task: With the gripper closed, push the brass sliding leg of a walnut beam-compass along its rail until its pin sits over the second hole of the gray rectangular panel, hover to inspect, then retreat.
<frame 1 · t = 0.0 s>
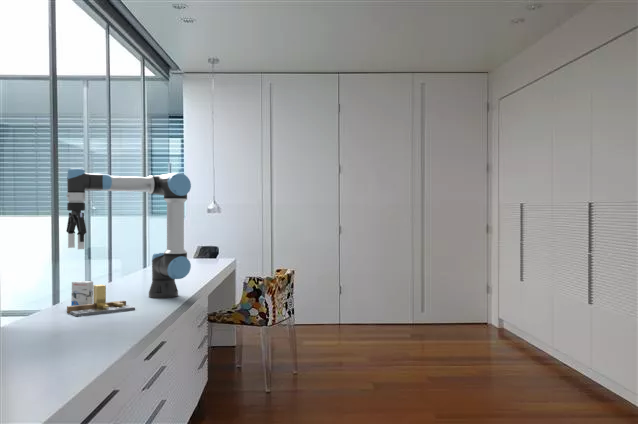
hand: (76, 248, 267), 28 cm above the table, fingers open, 13 cm apart
ink box: (82, 306, 276), on the table
gray rectangular panel: (103, 312, 261), on the table
beam: (97, 309, 267), on the table
sliding leg: (101, 297, 265), point 6 cm above the table, slide at 0.0 cm
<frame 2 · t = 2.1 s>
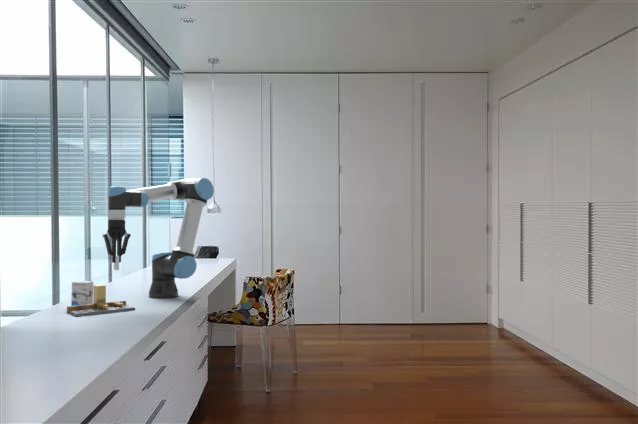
hand: (116, 269, 272), 18 cm above the table, fingers closed
nothing on the table moved.
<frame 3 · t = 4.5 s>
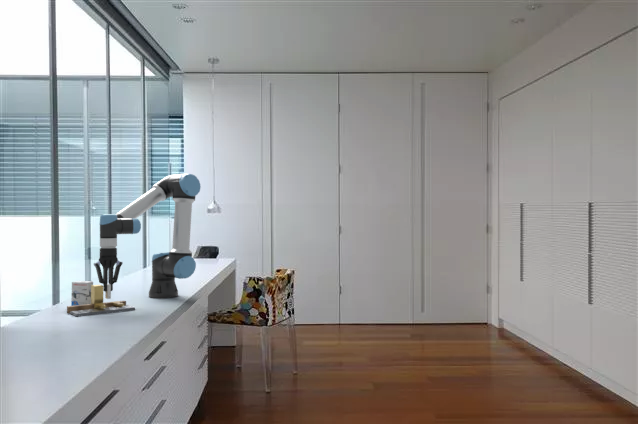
hand: (108, 298, 270), 5 cm above the table, fingers closed
sliding leg: (99, 298, 264), point 6 cm above the table, slide at 1.1 cm, touching gripper
everything else where it was.
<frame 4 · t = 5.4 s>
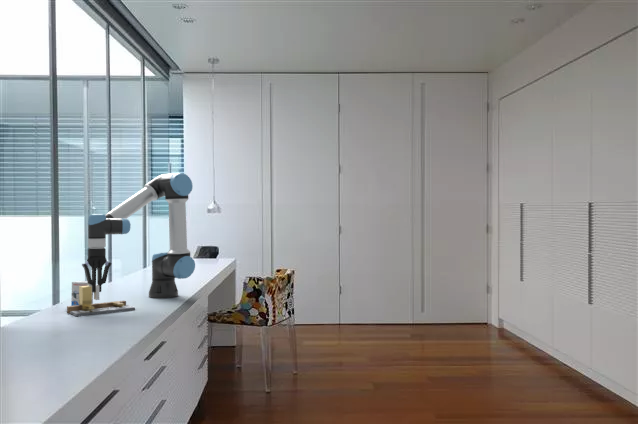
hand: (96, 299, 266), 5 cm above the table, fingers closed
sliding leg: (87, 299, 261), point 6 cm above the table, slide at 6.4 cm, touching gripper
everything else where it was.
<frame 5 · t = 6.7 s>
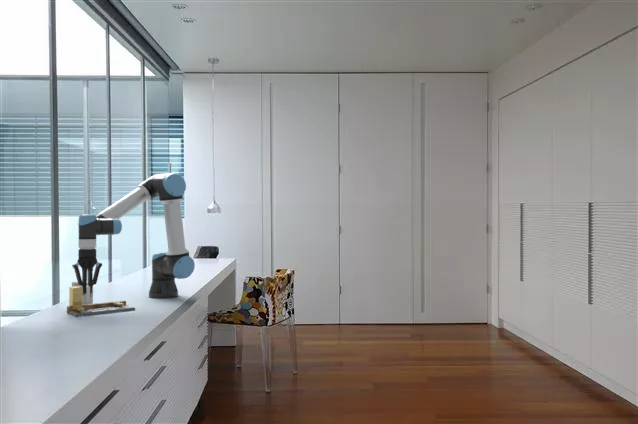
hand: (87, 300, 264), 5 cm above the table, fingers closed
sliding leg: (77, 300, 258), point 6 cm above the table, slide at 10.6 cm, touching gripper
everything else where it was.
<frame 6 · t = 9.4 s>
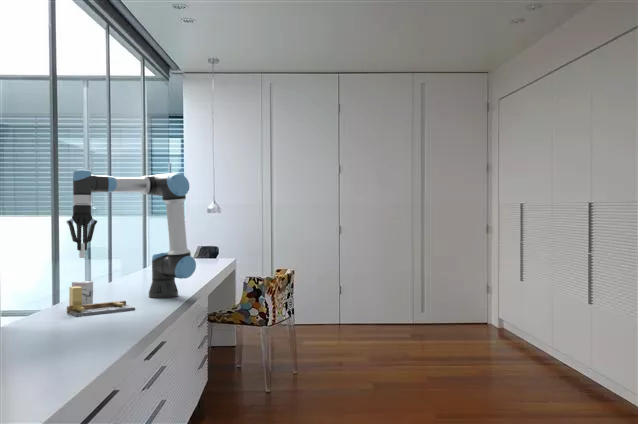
hand: (82, 257, 259), 24 cm above the table, fingers closed
sliding leg: (77, 300, 258), point 6 cm above the table, slide at 10.6 cm
everything else where it was.
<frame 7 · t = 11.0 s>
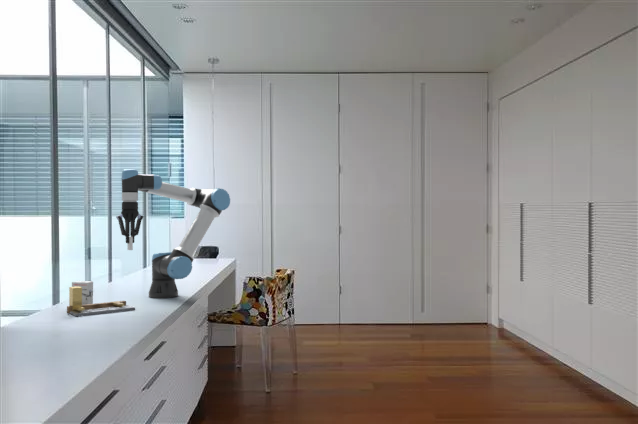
hand: (130, 249, 283), 26 cm above the table, fingers closed
nothing on the table moved.
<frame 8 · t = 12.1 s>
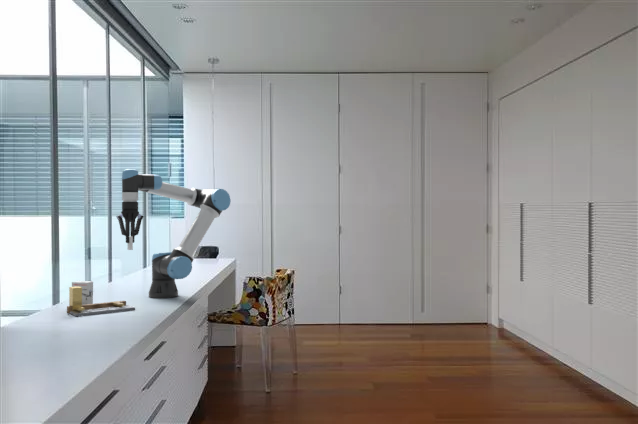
hand: (130, 249, 283), 26 cm above the table, fingers closed
nothing on the table moved.
at the end: sliding leg slide at 10.6 cm; sliding leg 1.6 cm from the target spot, resting on gray rectangular panel; sliding leg touching nothing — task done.
